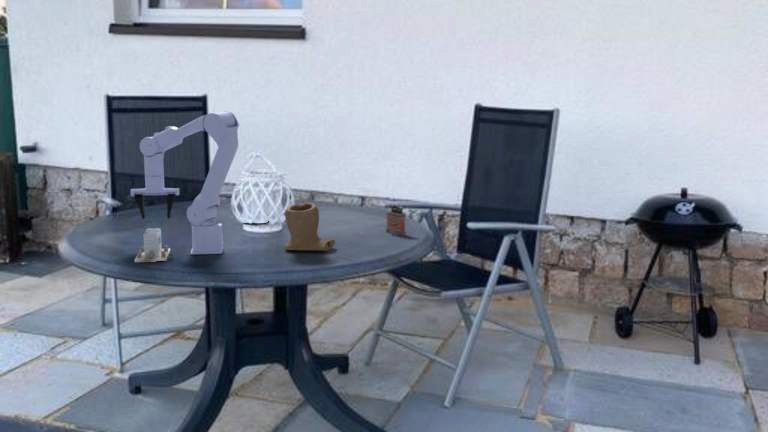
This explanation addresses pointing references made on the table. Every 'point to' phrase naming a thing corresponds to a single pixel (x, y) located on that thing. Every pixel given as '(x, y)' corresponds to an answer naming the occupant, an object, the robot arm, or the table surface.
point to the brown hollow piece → (305, 229)
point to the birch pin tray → (150, 258)
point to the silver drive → (152, 242)
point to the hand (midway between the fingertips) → (156, 217)
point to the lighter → (396, 220)
